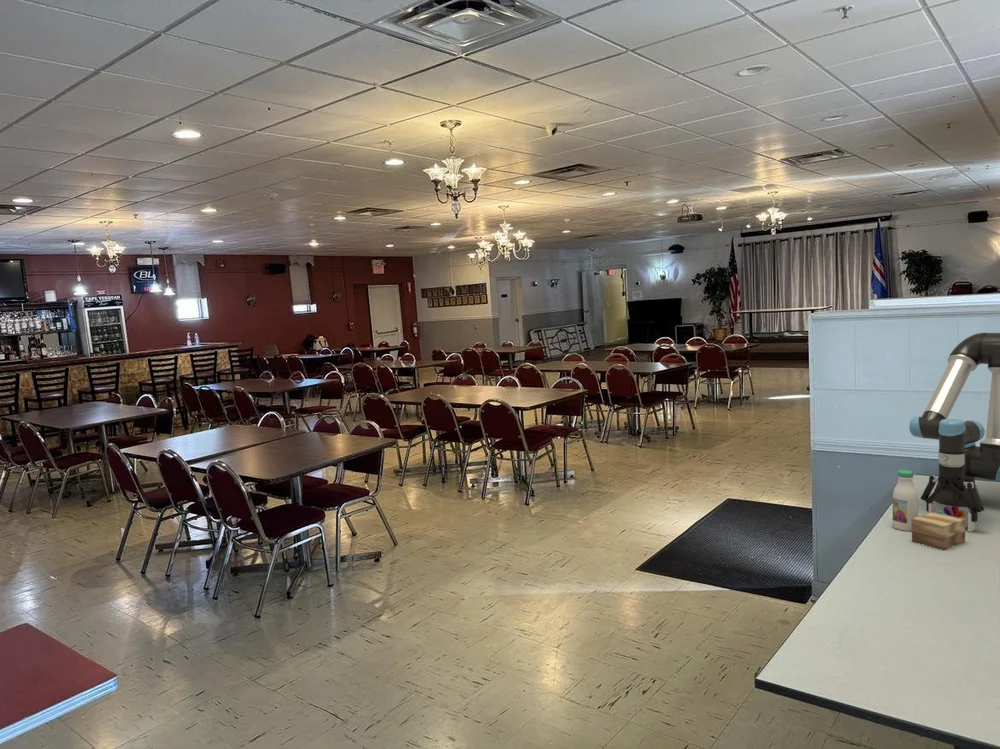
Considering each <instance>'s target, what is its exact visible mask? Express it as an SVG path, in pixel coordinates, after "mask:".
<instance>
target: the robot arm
mask: <svg viewBox="0 0 1000 749" xmlns="http://www.w3.org/2000/svg"><path fill="white" fill-rule="evenodd" d="M947 364H948V365H947V366H946V368H945V370H944V372H943V374H942V377H941V378H940V381H939V382H938V384H937V386H936V388H935V390H934V392H933V394H932V397H931V398H930V400H929V401H928V404H927V406H926V408H925V410H924V412H923V414H922V415H921V416H914V417H913V418H911V420H910V422H909V425H908V426H909V427H908V428H909V432H910V434H911V435H912V436H913V437H916V438H921V439H930V440H938V453H937V455H938V476H937V475H936V474H933V475H930V476H929V477H928V483H927V484H926V487H925V489H924V491H923V492H922V495H921V496H920V500H921V501H924V502H925V503H926V512H928V514H929V513H932V512H936V502H937V503H940V504H943V505H946V506H957V507H967V508H968V510H969V511H968V514H967V521H968V526H967V531H968V532H969V533H971V532H974V531H975V530H976V527H975V526H976V522H978V518H979V516H978V515H979V513H981V512H984V511H985V508H984V506H983V503H982V501H981V494H980V493H979V489H978V487H977V485H976V478H977V479H983V480H987V481H988V480H990V481H993V482H994V481H995V482H998V483H1000V332H979V333H978V332H977V333H975V334H972V335H970V336H968V337H966V338H965V339H963V340H962V341H961V342H959V343H958V344H957V345H956V346H955V347H954V349H953V350H952V351H951V352H950V353H949V356H948V357H947ZM982 364H983V365H987V370H988V371H990V372H991V382H990V391H989V401H988V412H987V420H986V421H987V422H986V430H985V427H984V425H983V424H982V423H980V422H979V421H978V420H977V421H976V420H965V421H964V420H963V419H959V418H958V419H956V418H948V417H949V416H950V414H951V412H952V410H953V408H954V405H955V404H956V402H957V399H958V398H959V395H960V394H961V392H962V390H963V388H964V386H965V384H966V382H967V380H968V378H969V376H970V374H971V372H974V371H976V369H977V367H978V366H979V365H982ZM984 437H985V438H984ZM978 441H980V442H979V446H977V445H976V443H977V442H978ZM933 489H934V491H933ZM932 491H933V492H932Z"/></svg>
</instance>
